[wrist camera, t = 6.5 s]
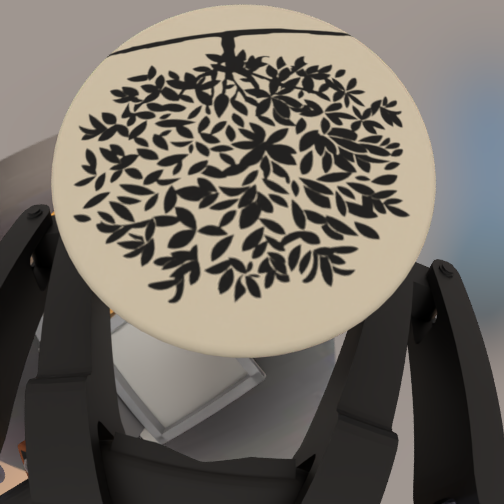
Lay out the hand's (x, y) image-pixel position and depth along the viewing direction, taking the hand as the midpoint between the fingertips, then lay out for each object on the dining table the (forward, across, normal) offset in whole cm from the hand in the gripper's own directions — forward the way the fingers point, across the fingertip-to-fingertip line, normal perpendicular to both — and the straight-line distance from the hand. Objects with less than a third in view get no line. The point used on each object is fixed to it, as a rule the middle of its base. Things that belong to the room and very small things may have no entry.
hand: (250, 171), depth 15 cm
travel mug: (+3, 0, -8) cm, 9 cm away
